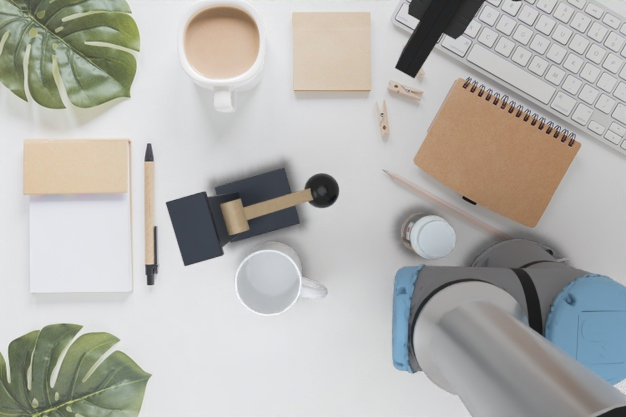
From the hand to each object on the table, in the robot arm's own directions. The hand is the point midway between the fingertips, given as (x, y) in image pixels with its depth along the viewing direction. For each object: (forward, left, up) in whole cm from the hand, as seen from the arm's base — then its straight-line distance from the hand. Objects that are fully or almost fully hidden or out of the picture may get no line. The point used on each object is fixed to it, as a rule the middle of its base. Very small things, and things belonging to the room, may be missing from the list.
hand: (408, 63), depth 37 cm
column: (-7, +20, -38) cm, 43 cm away
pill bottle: (-17, -5, -40) cm, 43 cm away
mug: (-18, +15, -40) cm, 46 cm away
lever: (-7, +12, -18) cm, 23 cm away
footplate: (-7, +16, -39) cm, 43 cm away
